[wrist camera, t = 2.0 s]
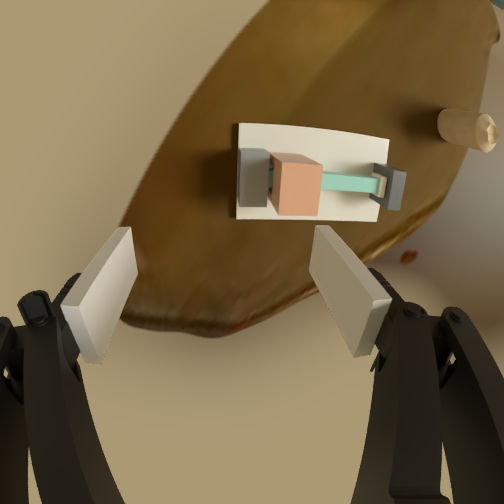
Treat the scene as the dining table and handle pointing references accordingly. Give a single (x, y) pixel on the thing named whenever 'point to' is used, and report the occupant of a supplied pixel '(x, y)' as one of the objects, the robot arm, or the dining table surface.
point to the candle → (468, 129)
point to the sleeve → (295, 184)
